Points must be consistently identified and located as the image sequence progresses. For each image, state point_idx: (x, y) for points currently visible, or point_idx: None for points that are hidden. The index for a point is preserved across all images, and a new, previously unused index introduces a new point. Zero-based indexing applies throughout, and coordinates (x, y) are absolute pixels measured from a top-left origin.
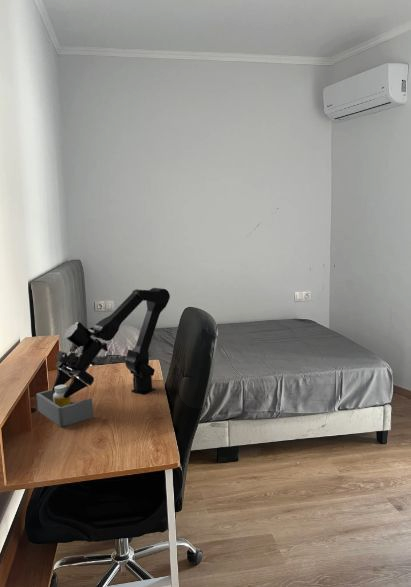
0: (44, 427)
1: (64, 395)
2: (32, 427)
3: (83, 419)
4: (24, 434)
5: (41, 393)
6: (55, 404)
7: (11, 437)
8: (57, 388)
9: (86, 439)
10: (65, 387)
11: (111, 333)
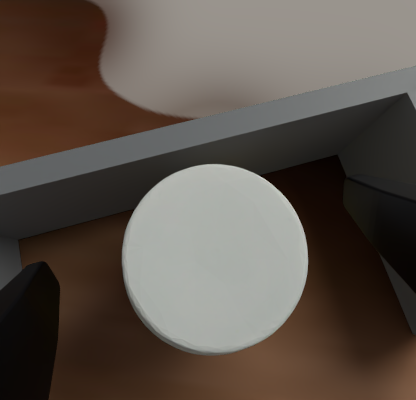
0: (59, 146)
1: (18, 275)
2: (100, 93)
3: None
4: (30, 55)
5: (410, 107)
6: (23, 181)
7: (34, 7)
8: (147, 196)
9: None
10: (144, 318)
11: None
